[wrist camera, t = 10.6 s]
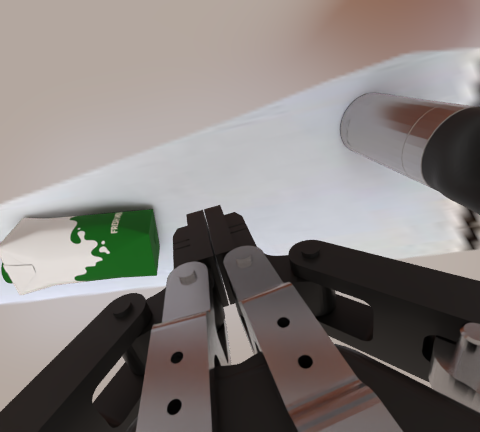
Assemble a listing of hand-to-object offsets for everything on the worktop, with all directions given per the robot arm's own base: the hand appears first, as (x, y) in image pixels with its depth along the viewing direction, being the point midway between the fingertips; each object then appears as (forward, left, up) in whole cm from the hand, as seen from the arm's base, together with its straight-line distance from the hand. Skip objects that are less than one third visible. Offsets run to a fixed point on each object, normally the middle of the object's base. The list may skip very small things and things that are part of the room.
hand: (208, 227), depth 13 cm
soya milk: (+8, +15, -27) cm, 32 cm away
